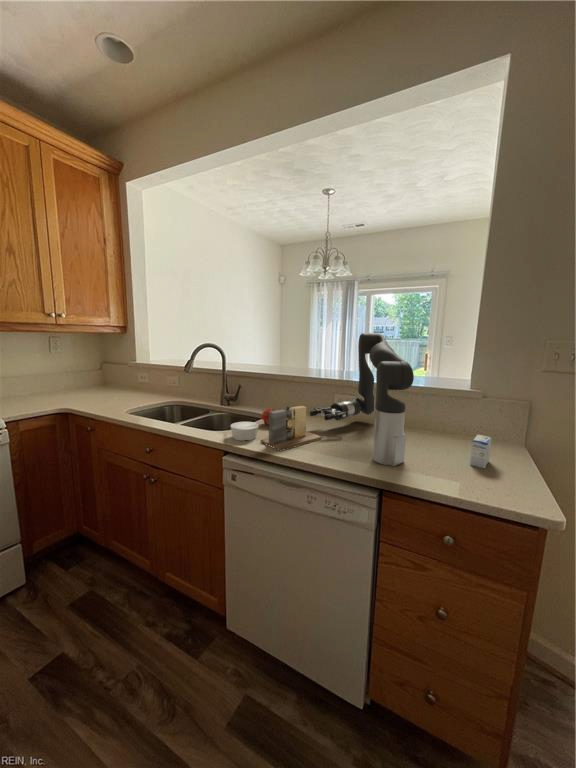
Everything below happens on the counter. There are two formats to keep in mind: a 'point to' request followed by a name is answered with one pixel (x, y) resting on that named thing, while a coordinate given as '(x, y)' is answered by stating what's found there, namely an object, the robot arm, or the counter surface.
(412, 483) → the counter surface
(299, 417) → the pale yellow flat block
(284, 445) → the hinge base
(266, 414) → the dragon fruit
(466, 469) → the counter surface
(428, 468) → the counter surface
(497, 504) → the counter surface
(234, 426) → the ramekin
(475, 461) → the medicine box
